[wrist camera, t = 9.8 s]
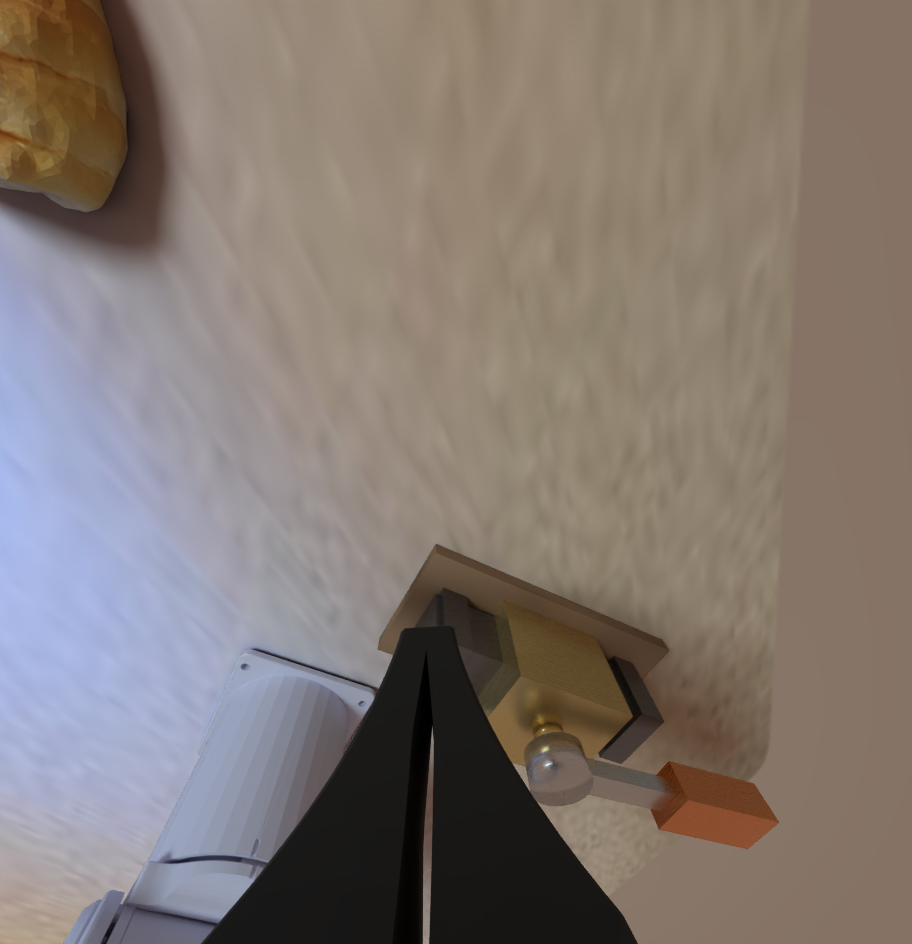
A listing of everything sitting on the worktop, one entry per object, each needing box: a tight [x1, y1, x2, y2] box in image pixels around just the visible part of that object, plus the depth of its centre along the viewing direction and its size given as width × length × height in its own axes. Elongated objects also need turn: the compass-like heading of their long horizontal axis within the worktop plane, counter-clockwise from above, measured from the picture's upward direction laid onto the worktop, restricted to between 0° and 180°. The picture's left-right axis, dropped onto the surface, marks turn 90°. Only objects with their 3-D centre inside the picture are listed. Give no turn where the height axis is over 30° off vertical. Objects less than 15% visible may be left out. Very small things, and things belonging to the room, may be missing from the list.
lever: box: [524, 732, 779, 849], centre depth 19 cm, size 12×3×2 cm, turn 66°
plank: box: [378, 544, 669, 679], centre depth 24 cm, size 7×15×1 cm, turn 62°
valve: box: [414, 587, 664, 767], centre depth 21 cm, size 5×13×5 cm, turn 62°
